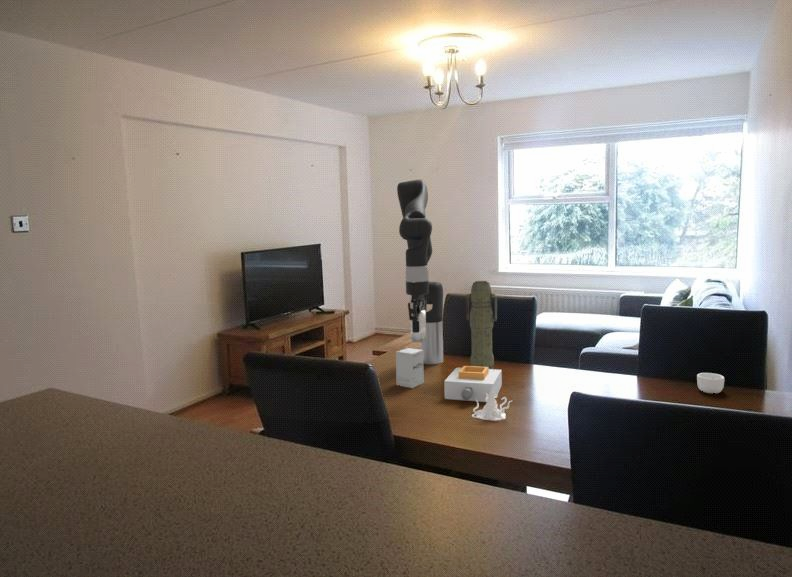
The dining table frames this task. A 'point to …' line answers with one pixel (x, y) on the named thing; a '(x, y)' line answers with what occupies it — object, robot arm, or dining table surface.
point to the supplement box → (409, 367)
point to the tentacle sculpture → (491, 408)
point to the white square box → (472, 383)
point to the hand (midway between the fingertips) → (418, 330)
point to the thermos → (481, 323)
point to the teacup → (710, 382)
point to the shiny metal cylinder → (422, 326)
